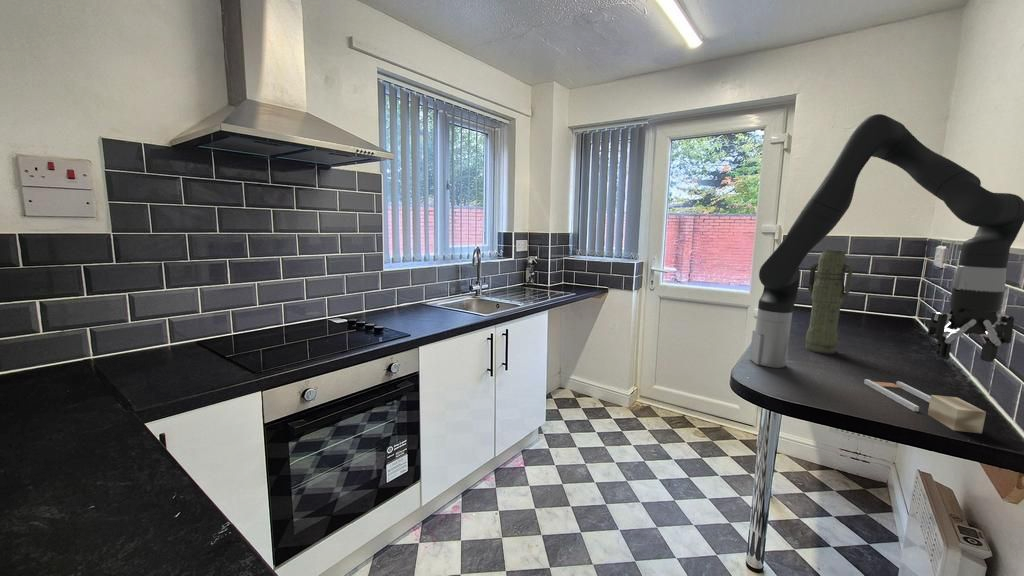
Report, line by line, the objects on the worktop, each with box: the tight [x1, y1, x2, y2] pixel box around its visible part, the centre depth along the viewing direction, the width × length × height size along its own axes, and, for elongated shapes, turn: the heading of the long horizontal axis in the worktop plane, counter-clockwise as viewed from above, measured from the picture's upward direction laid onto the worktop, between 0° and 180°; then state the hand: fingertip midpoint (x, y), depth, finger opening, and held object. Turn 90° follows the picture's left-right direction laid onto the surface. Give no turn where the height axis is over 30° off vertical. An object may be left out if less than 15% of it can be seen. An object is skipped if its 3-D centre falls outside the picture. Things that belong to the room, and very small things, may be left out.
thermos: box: [805, 249, 854, 355], centre depth 148 cm, size 9×12×35 cm
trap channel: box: [863, 378, 931, 412], centre depth 110 cm, size 9×19×1 cm, turn 171°
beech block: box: [927, 394, 987, 434], centre depth 95 cm, size 5×8×5 cm, turn 167°
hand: (964, 359), depth 94 cm, fingers open, 8 cm apart
